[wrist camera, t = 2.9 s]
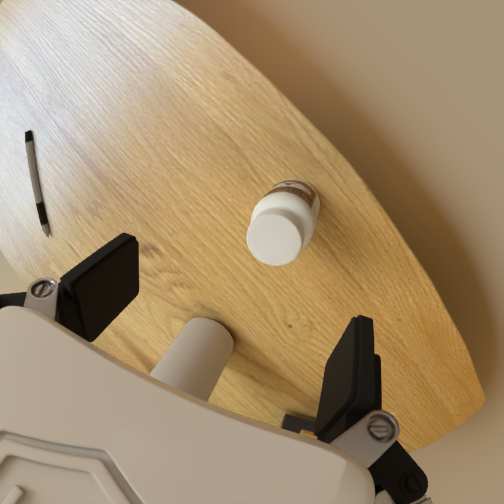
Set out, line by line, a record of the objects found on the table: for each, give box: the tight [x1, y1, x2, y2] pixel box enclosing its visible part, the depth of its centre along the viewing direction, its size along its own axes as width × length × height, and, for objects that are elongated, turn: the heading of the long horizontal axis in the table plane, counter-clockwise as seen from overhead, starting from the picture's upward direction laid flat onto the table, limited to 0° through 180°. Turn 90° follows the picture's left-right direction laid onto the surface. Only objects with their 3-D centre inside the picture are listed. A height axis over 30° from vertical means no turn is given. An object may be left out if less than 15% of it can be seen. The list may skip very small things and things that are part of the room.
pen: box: [25, 131, 49, 237], centre depth 33 cm, size 1×16×1 cm, turn 1°
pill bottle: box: [247, 178, 320, 266], centre depth 21 cm, size 4×4×8 cm
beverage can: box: [149, 318, 234, 402], centre depth 29 cm, size 6×6×12 cm
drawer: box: [281, 414, 317, 439], centre depth 34 cm, size 17×11×9 cm, turn 168°
